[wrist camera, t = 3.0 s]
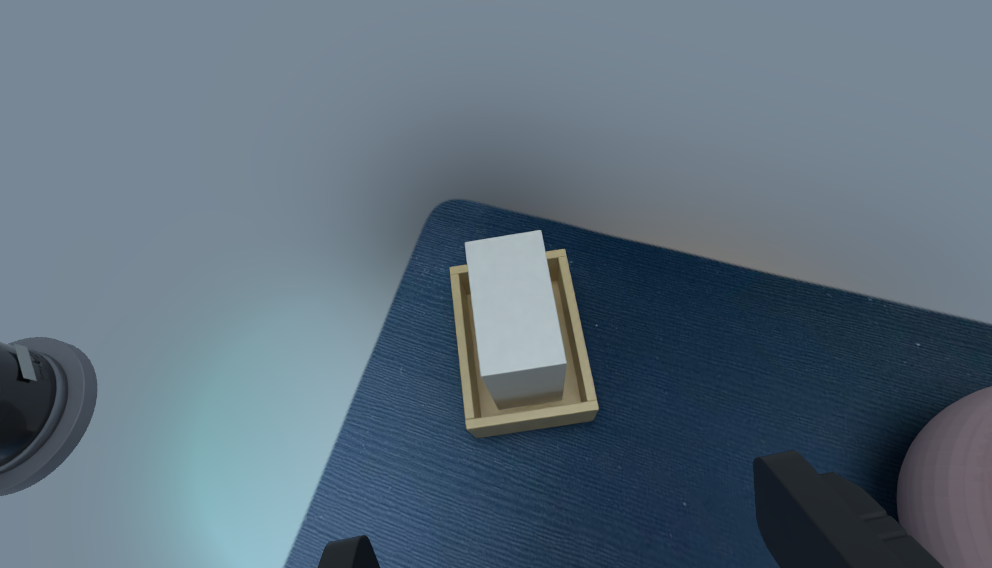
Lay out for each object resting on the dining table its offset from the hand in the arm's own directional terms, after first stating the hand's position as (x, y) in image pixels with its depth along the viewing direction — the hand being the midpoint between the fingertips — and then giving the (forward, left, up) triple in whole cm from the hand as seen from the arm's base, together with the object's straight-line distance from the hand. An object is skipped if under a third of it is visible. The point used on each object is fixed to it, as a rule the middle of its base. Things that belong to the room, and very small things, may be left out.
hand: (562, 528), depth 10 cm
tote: (+7, +8, -25) cm, 27 cm away
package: (+7, +8, -24) cm, 26 cm away
